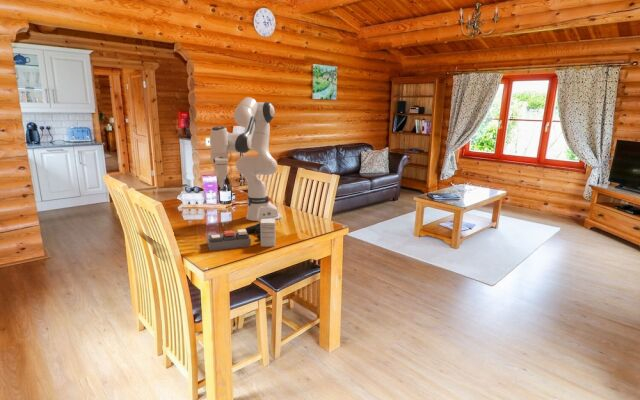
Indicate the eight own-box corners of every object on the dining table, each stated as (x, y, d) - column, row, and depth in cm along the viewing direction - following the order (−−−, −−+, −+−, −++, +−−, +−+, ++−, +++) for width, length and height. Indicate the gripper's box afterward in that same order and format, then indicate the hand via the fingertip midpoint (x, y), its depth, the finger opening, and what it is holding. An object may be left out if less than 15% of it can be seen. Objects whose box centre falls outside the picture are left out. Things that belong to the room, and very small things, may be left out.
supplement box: (261, 241, 194) (261, 218, 191) (275, 241, 194) (275, 218, 191) (260, 246, 186) (260, 222, 184) (275, 246, 187) (275, 222, 184)
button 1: (219, 237, 185) (219, 234, 185) (220, 239, 182) (220, 236, 181) (211, 238, 184) (210, 235, 183) (212, 240, 180) (212, 237, 180)
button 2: (245, 231, 190) (245, 229, 190) (246, 234, 186) (246, 231, 186) (237, 232, 188) (237, 229, 188) (238, 235, 185) (238, 232, 184)
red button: (232, 233, 187) (232, 230, 187) (233, 235, 184) (233, 232, 183) (224, 233, 186) (224, 231, 186) (225, 236, 182) (225, 233, 182)
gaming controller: (263, 245, 196) (277, 232, 200) (258, 237, 193) (272, 225, 197) (247, 236, 208) (260, 225, 212) (242, 229, 205) (255, 217, 209)
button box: (245, 238, 198) (245, 228, 196) (250, 246, 187) (250, 235, 186) (206, 242, 190) (206, 232, 189) (209, 250, 179) (209, 239, 178)
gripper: (210, 156, 197) (211, 182, 200) (215, 160, 179) (216, 189, 182) (223, 156, 200) (223, 182, 203) (228, 160, 181) (229, 188, 184)
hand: (220, 185), depth 192 cm, fingers open, 8 cm apart
